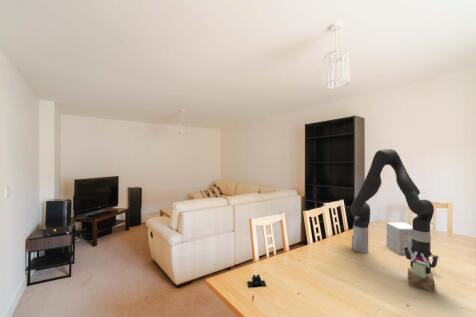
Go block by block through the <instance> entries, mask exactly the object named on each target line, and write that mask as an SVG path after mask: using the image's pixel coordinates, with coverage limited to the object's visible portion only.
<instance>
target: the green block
mask: <svg viewBox="0 0 476 317" xmlns="http://www.w3.org/2000/svg"><path fill="white" fill-rule="evenodd" d="M426 267H427V266H426V263H424V262H421V261H418V260H416V261H415V262H413V272H412V274H414V275H416V276H419V277H421V278H424V279H425V278H426V277H427V276H428V274H426Z"/></svg>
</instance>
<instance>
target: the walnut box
mask: <svg viewBox="0 0 476 317" xmlns="http://www.w3.org/2000/svg"><path fill="white" fill-rule="evenodd" d="M412 272H413V269H412V267H407V281H408V283H407V284H408V286H411V287H414V288H418V289H420V290H421V289H422V290H425V291H428V292H432V293H435V279H434V275H433V273H432V272H431V273H430V274H428V276H427V277H426V278H425V279H424V278H421V277H419V276H416V275H414V274H412Z"/></svg>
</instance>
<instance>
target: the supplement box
mask: <svg viewBox="0 0 476 317" xmlns="http://www.w3.org/2000/svg"><path fill="white" fill-rule="evenodd" d="M412 229H413V225H411V224H409V223H406V222H386V247H387V248H388V249H390V250H391V251H393V252H394V253H396V254H397V255H404V256H406V254H405V249H404V248H405V247H407V246H408V247H410V248H411V247H412ZM410 255H412V256H413V252H412V251H410Z"/></svg>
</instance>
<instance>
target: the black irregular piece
mask: <svg viewBox="0 0 476 317" xmlns="http://www.w3.org/2000/svg"><path fill="white" fill-rule="evenodd" d="M246 285H247V288H248V289H251V288H252V289H253V288H266V287H267V283H266V281H265V280H262V279H261V276H260V274H256V275H255V274H253V275H252V277H251V280H249V281H246Z"/></svg>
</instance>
